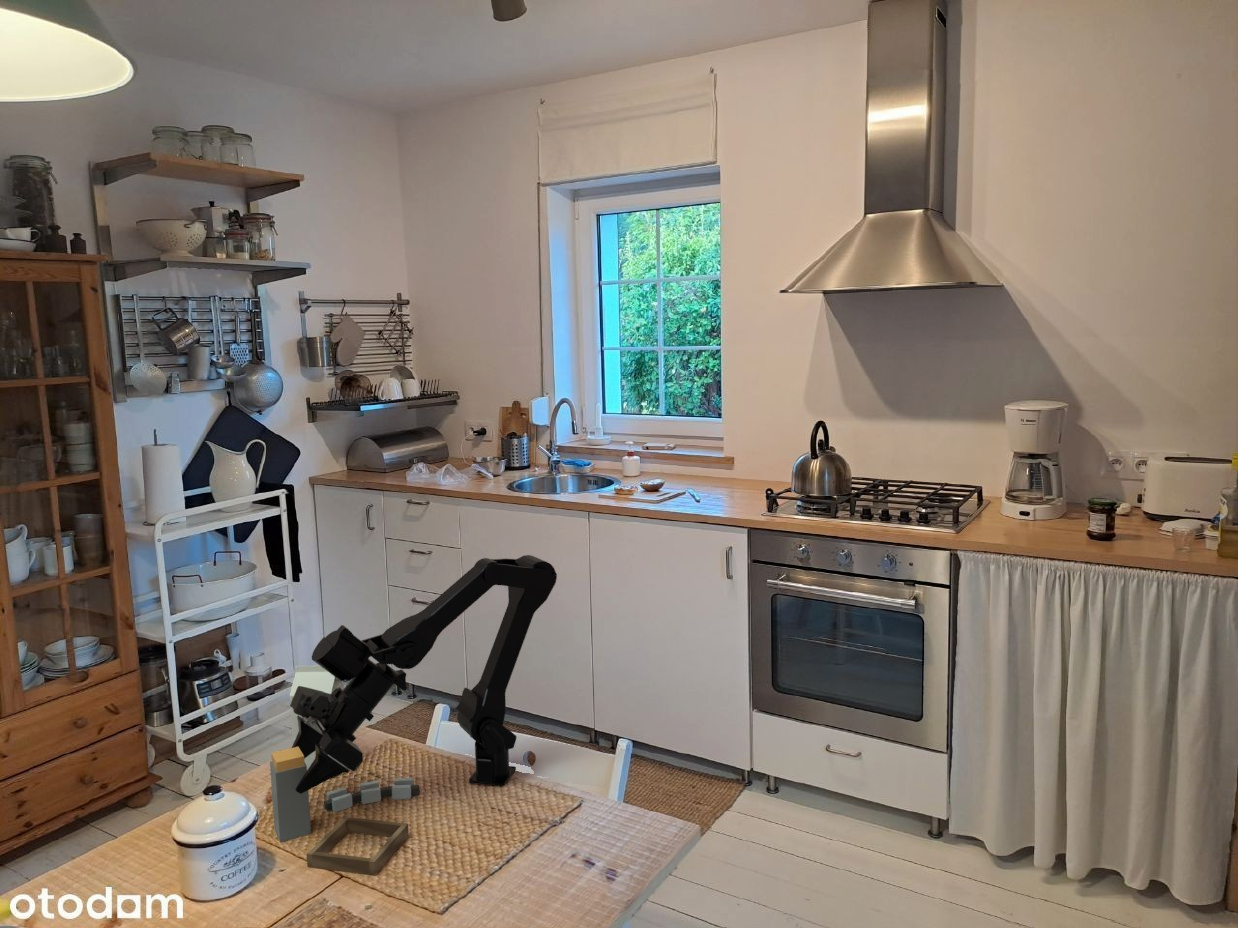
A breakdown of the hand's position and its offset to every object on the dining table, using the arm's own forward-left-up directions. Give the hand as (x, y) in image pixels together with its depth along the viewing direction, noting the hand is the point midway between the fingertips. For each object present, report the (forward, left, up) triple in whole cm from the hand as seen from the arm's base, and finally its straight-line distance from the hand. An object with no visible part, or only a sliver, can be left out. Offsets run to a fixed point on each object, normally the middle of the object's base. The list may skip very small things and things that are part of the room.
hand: (291, 779), depth 138 cm
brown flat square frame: (+3, +13, -8) cm, 16 cm away
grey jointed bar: (-11, +7, -8) cm, 16 cm away
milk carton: (-20, -7, -9) cm, 23 cm away
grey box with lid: (0, 0, -8) cm, 8 cm away
